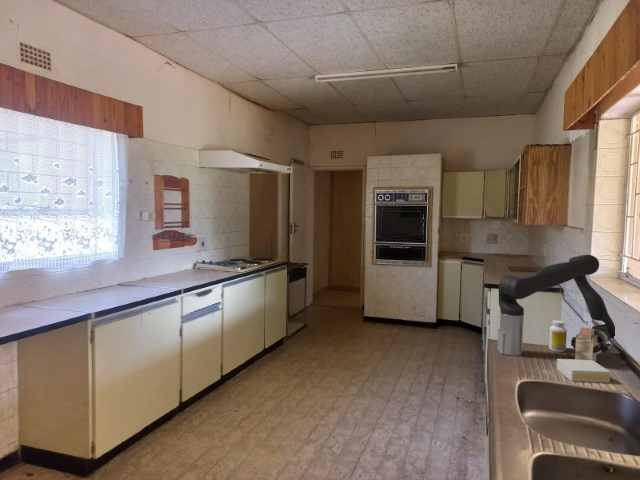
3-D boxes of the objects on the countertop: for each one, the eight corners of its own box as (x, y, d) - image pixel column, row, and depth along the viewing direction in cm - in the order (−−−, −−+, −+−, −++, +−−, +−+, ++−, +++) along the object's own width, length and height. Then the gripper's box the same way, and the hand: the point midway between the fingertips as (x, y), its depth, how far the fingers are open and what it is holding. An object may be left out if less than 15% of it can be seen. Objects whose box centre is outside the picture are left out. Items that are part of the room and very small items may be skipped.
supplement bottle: (569, 352, 188) (570, 323, 187) (553, 352, 188) (555, 323, 187) (560, 347, 194) (562, 319, 193) (545, 347, 194) (547, 319, 194)
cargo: (579, 338, 174) (579, 329, 174) (582, 336, 177) (582, 327, 177) (590, 341, 171) (591, 331, 171) (593, 339, 174) (594, 329, 174)
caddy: (574, 363, 175) (576, 335, 174) (579, 359, 179) (580, 332, 178) (591, 366, 171) (593, 338, 170) (595, 363, 175) (597, 335, 174)
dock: (571, 381, 156) (572, 370, 156) (556, 368, 168) (557, 358, 168) (609, 382, 155) (610, 372, 155) (591, 370, 167) (592, 360, 167)
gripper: (577, 327, 189) (565, 335, 177) (616, 334, 179) (606, 343, 167) (576, 344, 190) (564, 353, 178) (615, 352, 179) (604, 362, 168)
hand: (584, 348), depth 173 cm, fingers closed on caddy, 6 cm apart
